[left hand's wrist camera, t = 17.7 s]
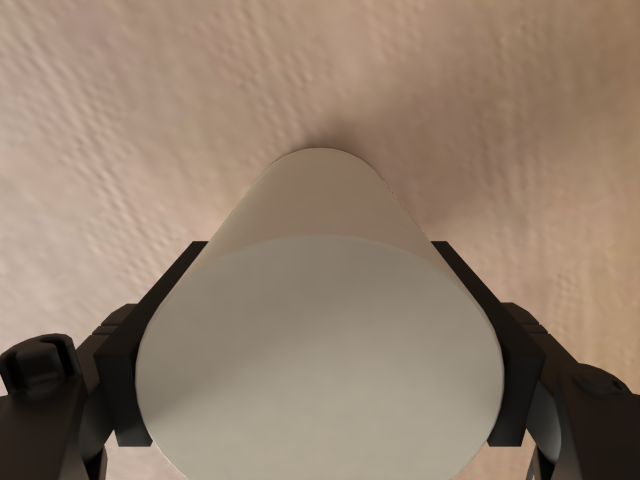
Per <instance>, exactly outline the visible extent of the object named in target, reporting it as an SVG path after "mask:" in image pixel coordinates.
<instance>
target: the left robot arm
mask: <svg viewBox="0 0 640 480" xmlns="http://www.w3.org/2000/svg"><path fill="white" fill-rule="evenodd" d="M208 242H209V241H193V242H192V243H191V244H190V245H189V246H188V248H187V249H186V250H185V251H184V252H183V253H182V254H181V255H180V257H179V258H178V259H177V260H176V261H175V262H174V263H173V265H172V266H171V267H170V268H169V269H168V270H167V271H166V272H165V274H164V275H163V276H162V277H161V278H160V279H159V280H158V281H157V283H156V284H155V285H154V286H153V287H152V288H151V289H150V291H149V292H148V293H147V294H146V295H145V296H144V297H143V298H142V300H141V301H140V302H139V303H138V304H126V305H124V306H122V307H121V308H119V309H117V310H116V311H114V312H112V313H111V314H110V315H109V316H108V317H107V318H106V319H105V320H104V321H103V322H102V323H101V326H98V327H97V328H96V329H95V330H94V332H93V333H92V335H90V336H89V337H88V338H87V339H86V340H85V341H84V342H83V343H82V344H81V345H80V346H79V347H78V348H77V349H76V350H75V347H74V344H73V340H72V338H71V337H69V336H68V335H66V334H57V333H55V334H46V335H41V336H37V337H34V338H30V339H28V340H25V341H23V342H21V343H19V344H16V345H14V346H13V347H11V348H10V349H8V350H7V351H5V352H4V353H2V354H1V356H0V375H1V377H2V380H3V382H4V385H5V387H6V389H7V392H8V395H6V396H1V397H0V480H105V478H106V469H107V453H106V449H105V446H104V444H105V442H106V441H107V439H108V438H109V436H110V434H111V433H112V431H113V430H114V431H115V435H116V438H117V442H118V445H119V447H150V446H151V444H152V442H153V440H152V438H151V436H150V434H149V432H148V430H147V428H146V426H145V424H144V422H143V419H142V416H141V413H140V409H139V406H138V402H137V395H136V387H135V375H136V361H137V356H138V351H139V347H140V343H141V340H142V338H143V335H144V333H145V330H146V328H147V325H148V323H149V322H150V320H151V318H152V317H153V315H154V314H155V312H156V310H157V309H158V307H159V305H160V304H161V303H162V302H163V300H164V299H165V298H166V296H167V295H168V294H169V293H170V291H171V290H172V289H173V287H174V286H175V285H176V283H177V282H178V281H179V280H180V278H181V277H182V276H183V274H184V273H185V272H186V271H187V269H188V268H189V267H190V265H191V264H192V263H193V262H194V260H195V259H196V258H197V256H198V255H199V254H200V252H201V251H202V250H203V249H204V247H205V246H206V245H207V243H208ZM430 242H431V243H432V244H433V246H434V247H435V248H436V250H437V251H438V252H439V253H440V255H441V256H442V257H443V259H444V260H445V261H446V262H447V264H448V265H449V266H450V268H451V269H452V270H453V271H454V273H455V274H456V275H457V277H458V278H459V279H460V281H461V282H462V283H463V284H464V286H465V287H466V288H467V290H468V291H469V292H470V293H471V295H472V296H473V297H474V299H475V300H476V301H477V302H478V304H479V305H480V306H481V308H482V309H483V310H484V312H485V314H486V316H487V317H488V319H489V321H490V323H491V325H492V326H493V328H494V330H495V333H496V336H497V339H498V342H499V345H500V348H501V353H502V359H503V365H504V392H503V398H502V403H501V408H500V411H499V414H498V417H497V420H496V423H495V425H494V427H493V429H492V431H491V433H490V435H489V437H488V439H487V442H488V444H489V446H490V447H521V444H522V441H523V437H524V434H525V430H526V428H527V430H528V431H529V433H530V435H531V436H532V438H533V439H534V441H535V443H536V446H535V449H534V452H533V456H532V459H531V462H530V465H529V469H528V472H527V476H526V480H532V478H533V475H534V477H535V480H640V395H637V394H633V393H632V392H631V391H630V390H629V388H628V387H627V386H626V385H625V384H624V383H623V382H622V381H620V380H619V379H618V378H617V377H615V376H614V375H612V374H610V373H608V372H606V371H604V370H602V369H600V368H597V367H594V366H591V365H588V364H581V363H578V362H577V361H576V360H575V359H574V358H573V357H572V356H571V355H570V354H569V353H568V352H567V351H566V350H565V349H564V348H563V347H562V346H561V345H560V344H559V343H558V341H557V340H556V339H555V338H554V337H553V336H552V335H551V334H548V331H547V330H546V329H545V328H544V327H543V326H542V325H539V322H538V321H537V320H536V319H535V318H534V317H533V316H532V315H531V314H530V313H529V312H528V311H526V310H525V309H523V308H521V307H520V306H518V305H516V304H514V303H501V302H500V301H499V300H498V299H497V298H496V297H495V295H494V294H493V293H492V292H491V291H490V290H489V289H488V287H487V286H486V285H485V284H484V283H483V282H482V281H481V280H480V278H479V277H478V276H477V275H476V274H475V273H474V272H473V271H472V269H471V268H470V267H469V266H468V265H467V264H466V263H465V262H464V260H463V259H462V258H461V257H460V256H459V255H458V254H457V252H456V251H455V250H454V249H453V248H452V247H451V246H450V245H449V243H448V242H447V241H430Z"/></svg>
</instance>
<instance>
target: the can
mask: <svg viewBox="0 0 640 480" xmlns="http://www.w3.org/2000/svg"><path fill="white" fill-rule="evenodd" d="M135 387H136V395H137V402H138V406H139V409H140V413H141V416H142V419H143V422H144V424H145V426H146V428H147V430H148V432H149V434H150V436H151V438H152V440H153V441H154V443H155V444H156V446H157V447H158V449H159V450H160V452H161V453H162V454H163V455H164V456H165V458H166V459H167V460H168V461H169V462H170V463H171V464H172V465H173V467H174V468H176V469H177V470H178V471H179V472H180V473H181V474H182V475H183V476H185V477H186V478H187V479H188V480H451V479H452V478H453V477H455V476H456V475H457V474H458V473H459V472H461V471H462V470H463V469H464V468H465V467H466V466H467V465H468V463H469V462H470V461H471V460H472V459H473V458H474V457H475V456H476V455H477V453H478V452H479V450H480V449H481V448H482V446H483V445H484V443H485V442H486V440H487V439H488V437H489V435H490V433H491V431H492V429H493V427H494V425H495V423H496V420H497V417H498V414H499V411H500V408H501V403H502V398H503V392H504V365H503V359H502V353H501V348H500V345H499V342H498V339H497V336H496V333H495V330H494V328H493V326H492V325H491V323H490V321H489V319H488V317H487V316H486V314H485V312H484V310H483V309H482V308H481V306H480V305H479V304H478V302H477V301H476V300H475V299H474V297H473V296H472V295H471V293H470V292H469V291H468V290H467V288H466V287H465V286H464V284H463V283H462V282H461V281H460V279H459V278H458V277H457V275H456V274H455V273H454V271H453V270H452V269H451V268H450V266H449V265H448V264H447V262H446V261H445V260H444V259H443V257H442V256H441V255H440V253H439V252H438V251H437V250H436V248H435V247H434V246H433V244H432V243H431V242H430V241H429V239H428V238H427V237H426V235H425V234H424V233H423V231H422V230H421V229H420V228H419V226H418V225H417V224H416V222H415V221H414V220H413V219H412V217H411V216H410V215H409V213H408V212H407V211H406V210H405V208H404V207H403V206H402V204H401V203H400V202H399V201H398V199H397V198H396V197H395V195H394V194H393V193H392V191H391V190H390V189H389V188H388V186H387V185H386V184H385V182H384V181H383V180H382V179H381V177H380V176H379V175H378V174H377V172H376V171H375V170H374V169H373V168H372V167H371V166H369V165H368V164H367V163H365V162H364V161H363V160H361V159H360V158H358V157H356V156H354V155H352V154H350V153H347V152H344V151H341V150H337V149H332V148H322V147H320V148H308V149H302V150H298V151H295V152H292V153H290V154H287V155H285V156H283V157H281V158H280V159H278V160H277V161H275V162H274V163H272V164H271V165H270V166H269V167H268V168H267V169H266V170H265V171H264V172H263V173H262V174H261V175H260V176H259V178H258V179H257V180H256V181H255V183H254V184H253V185H252V187H251V188H250V189H249V190H248V192H247V193H246V194H245V196H244V197H243V198H242V200H241V201H240V202H239V203H238V205H237V206H236V207H235V209H234V210H233V211H232V212H231V214H230V215H229V216H228V218H227V219H226V220H225V221H224V223H223V224H222V225H221V227H220V228H219V229H218V231H217V232H216V233H215V234H214V236H213V237H212V238H211V240H210V241H209V242H208V243H207V245H206V246H205V247H204V249H203V250H202V251H201V252H200V254H199V255H198V256H197V258H196V259H195V260H194V262H193V263H192V264H191V265H190V267H189V268H188V269H187V271H186V272H185V273H184V274H183V276H182V277H181V278H180V280H179V281H178V282H177V283H176V285H175V286H174V287H173V289H172V290H171V291H170V293H169V294H168V295H167V296H166V298H165V299H164V300H163V302H162V303H161V304H160V305H159V307H158V309H157V310H156V312H155V314H154V315H153V317H152V318H151V320H150V322H149V323H148V325H147V328H146V330H145V333H144V335H143V338H142V340H141V343H140V347H139V351H138V356H137V361H136V375H135Z"/></svg>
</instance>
